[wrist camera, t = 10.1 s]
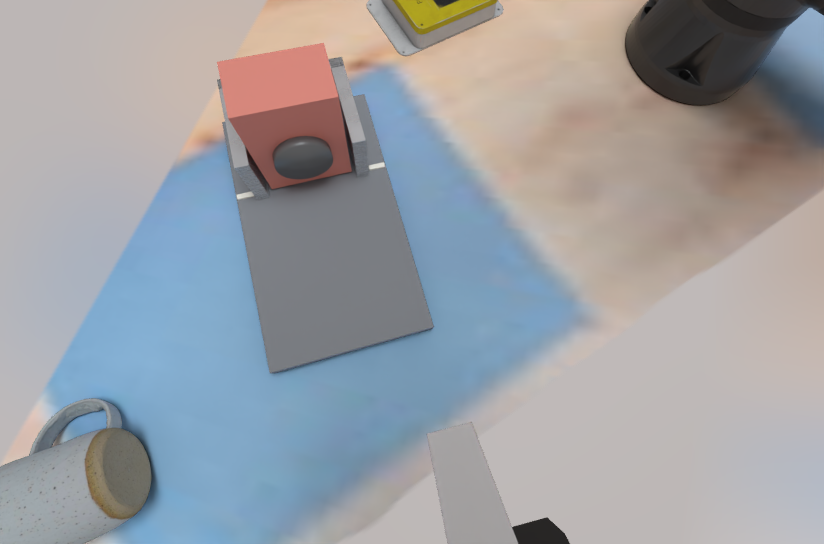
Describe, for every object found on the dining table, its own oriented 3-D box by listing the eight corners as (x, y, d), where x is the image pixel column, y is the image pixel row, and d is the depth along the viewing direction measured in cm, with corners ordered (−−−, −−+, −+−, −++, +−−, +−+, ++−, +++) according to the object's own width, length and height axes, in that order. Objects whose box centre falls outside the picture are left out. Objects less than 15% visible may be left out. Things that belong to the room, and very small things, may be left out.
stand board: (364, 103, 43) (364, 93, 42) (431, 328, 37) (433, 326, 36) (228, 131, 41) (221, 121, 40) (274, 373, 35) (269, 373, 34)
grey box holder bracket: (348, 101, 41) (341, 57, 36) (369, 175, 39) (365, 140, 34) (241, 122, 40) (217, 79, 34) (257, 200, 38) (234, 168, 32)
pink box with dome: (340, 129, 40) (323, 42, 30) (354, 180, 39) (341, 107, 28) (262, 145, 39) (216, 61, 29) (273, 198, 38) (230, 130, 27)
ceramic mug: (169, 501, 32) (103, 535, 25) (65, 552, 31) (-37, 605, 23) (135, 381, 35) (66, 380, 27) (37, 423, 33) (-63, 434, 26)
